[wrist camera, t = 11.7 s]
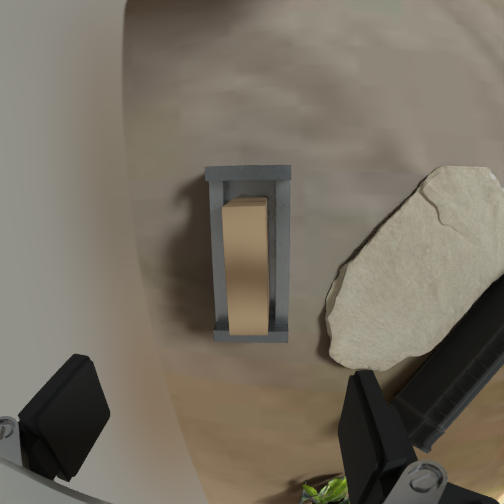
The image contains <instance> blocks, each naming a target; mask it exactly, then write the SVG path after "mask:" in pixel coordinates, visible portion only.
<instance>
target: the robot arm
mask: <svg viewBox="0 0 504 504" xmlns="http://www.w3.org/2000/svg"><path fill="white" fill-rule="evenodd" d="M18 417H19V419H20V421H19V422H17V421H16V419H14V418H13V417H9V416H2V417H0V504H112V503H109V502H106V501H103V500H100V499H97V498H94V497H91V496H88V495H85V494H83V493H80V492H78V491H75V490H72V489H70V488H68V487H65V486H63V485H61V484H58V483H56V482H55V480H54V478H55V476H57V477H58V478H60V479H62V480H65V481H67V482H69V481H70V480H71V478H72V477H74V476H76V474H77V473H78V471H79V469H80V467H81V466H82V464H83V462H84V461H85V459H86V457H87V455H88V454H89V452H90V450H91V448H92V447H93V445H94V443H95V442H96V440H97V438H98V437H99V435H100V433H101V432H102V430H103V428H104V426H105V425H106V423H107V421H108V420H109V417H110V410H109V407H108V404H107V402H106V399H105V396H104V393H103V390H102V388H101V385H100V382H99V379H98V376H97V373H96V370H95V367H94V364H93V362H92V361H91V360H90V358H89V357H88V356H85V355H80V354H73V355H72V356H71V357H70V358H69V359H68V361H66V363H65V364H64V365H63V366H62V367H61V368H60V369H59V370H58V371H57V372H56V373H55V374H54V375H53V376H52V377H51V379H50V380H49V381H48V382H47V383H46V384H45V385H44V386H43V387H42V389H40V391H39V392H38V393H37V394H36V395H35V396H34V397H33V398H32V399H31V401H30V402H29V403H28V404H27V405H26V406H25V407H24V408H23V410H22V411H21V412H20V413H19V414H18ZM338 437H339V443H340V448H341V454H342V459H343V465H344V470H345V476H346V482H347V488H348V494H349V500H350V504H499V502H498V501H497V500H495V499H493V498H491V497H488V496H485V495H482V494H479V493H476V492H473V491H470V490H468V489H465V488H462V487H459V486H457V485H454V484H452V483H449V482H447V480H448V477H447V472H446V471H445V469H444V468H443V467H442V466H441V465H440V464H439V463H437V462H435V461H431V460H419V461H418V459H417V456H416V454H415V451H414V449H413V446H412V444H411V441H410V439H409V436H408V434H407V432H406V429H405V427H404V424H403V422H402V420H401V417H400V415H399V412H398V410H397V408H396V406H395V405H394V404H386V401H385V399H384V396H383V394H382V391H381V389H380V386H379V384H378V382H377V379H376V377H375V375H374V372H373V371H372V370H362V371H356V372H355V374H354V375H351V376H350V377H349V381H348V386H347V391H346V396H345V400H344V405H343V410H342V414H341V418H340V423H339V427H338Z"/></svg>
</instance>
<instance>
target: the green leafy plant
mask: <svg viewBox="0 0 504 504" xmlns="http://www.w3.org/2000/svg"><path fill="white" fill-rule="evenodd" d="M306 483H307V480H306V481H305V485H304V484H303V485H302V487H303V489H304V491H303V495H302V497H301V501H300V503H299V504H302V503H303V502H304V501H305V500H311V501H313V503H312V504H350V500H349V497H348V498H347V499H346V495H345V494H346V492H347V491H348V488H347V482H346V476H344V477H342V478H340V477H336V478H334V479H333V480H331V481H330V482H328V483H327V484H326V485H325V486H324V487H323V488H322V489H321V491H319V493H317V491H316V490H315V489H314V488H313V487H310V486H308V485H306Z"/></svg>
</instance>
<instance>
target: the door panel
mask: <svg viewBox="0 0 504 504" xmlns="http://www.w3.org/2000/svg"><path fill="white" fill-rule="evenodd" d="M222 226H223V244H224V261H225V277H226V293H227V307H228V321H229V332H230V335H268V323H269V249H268V207H267V196H247V197H234V198H233V199H232V200H231V201H229V202H228V203H227V204H225V205H224V206H223V207H222Z"/></svg>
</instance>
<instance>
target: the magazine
mask: <svg viewBox="0 0 504 504" xmlns="http://www.w3.org/2000/svg"><path fill="white" fill-rule="evenodd" d="M503 364H504V274H503V275H502V276H501V277H499V278H498V280H497V281H496V282H495V283H494V284H493V285H492V286H491V288H490V289H489V290H488V291H487V292H486V293H485V294H484V296H483V297H482V298H481V299H480V300H479V301H478V302H477V304H476V305H475V306H474V307H473V308H472V309H471V311H470V312H469V313H468V314H467V315H466V316H465V317H464V319H463V320H462V321H461V322H460V323H459V324H458V325H457V327H456V328H455V329H454V330H453V331H452V332H451V333H450V335H449V336H448V337H447V338H446V339H445V340H444V341H443V342H442V344H441V345H440V346H439V347H438V348H437V349H436V351H435V352H434V353H433V354H432V355H431V356H430V357H429V359H428V360H427V361H426V362H425V364H424V365H423V366H422V367H421V368H420V370H419V371H418V372H417V373H416V374H415V375H414V377H413V378H412V379H411V380H410V381H409V382H408V383H407V384H406V386H405V387H404V388H403V389H402V390H401V391H400V392H399V394H396V393H395V394H394V396H396V397H395V398H394V399H393V400H392V402H391V403H390V404H394V405H395V406H396V408H397V410H398V412H399V415H400V417H401V420H402V422H403V424H404V427H405V429H406V432H407V434H408V436H409V439H410V441H411V444H412V446H415V447H417V448H419V449H420V450H422V451H423V452H425V453H427V454H428V453H429V452H430V451H431V446H432V445H433V443H434V442H435V441H436V440H437V439H438V438H439V437H440V436H442V435H443V434H444V433H445V432H444V431H445V430H446V429H447V428H448V427H449V426H450V425H451V424H452V422H453V421H454V420H455V419H456V418H457V417H458V416H459V415H460V414H461V412H462V411H463V410H464V409H465V408H466V407H467V406H468V404H469V403H470V402H471V401H472V400H473V399H474V397H475V396H476V395H477V394H478V393H479V392H480V391H481V390H482V389H483V387H484V386H485V385H486V384H487V383H488V382H489V381H490V379H491V378H492V377H493V376H494V375H495V374H496V372H497V371H498V370H499V369H500V368H501V367H502V366H503ZM440 428H441V429H440ZM443 430H444V431H443Z"/></svg>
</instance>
